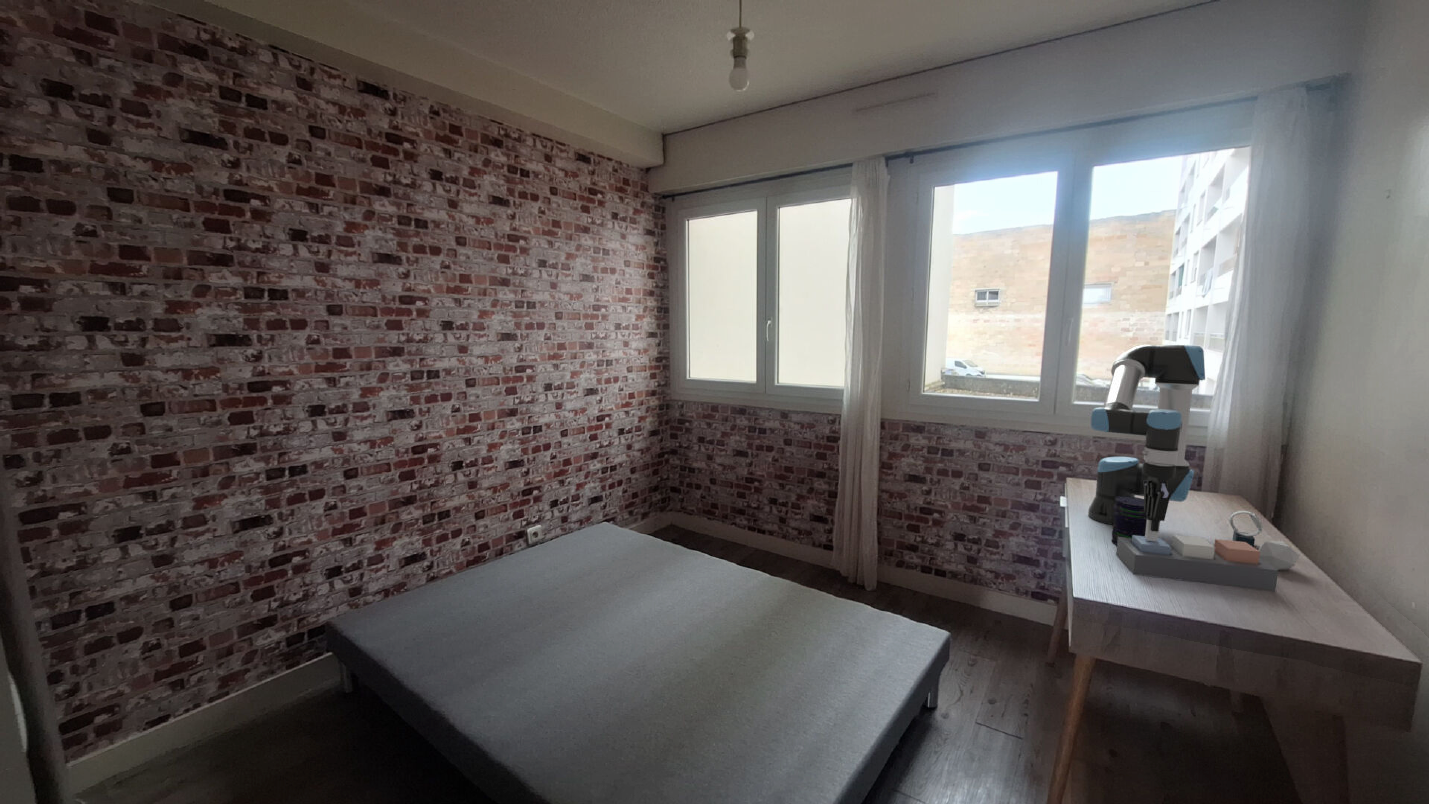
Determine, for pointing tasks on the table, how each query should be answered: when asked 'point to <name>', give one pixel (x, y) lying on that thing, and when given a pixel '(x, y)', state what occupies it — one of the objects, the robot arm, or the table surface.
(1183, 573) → the keypad housing
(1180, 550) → the white key
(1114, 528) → the storage jar
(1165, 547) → the slate blue key
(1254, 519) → the watch
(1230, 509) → the table surface
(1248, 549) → the terracotta key
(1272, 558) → the die
